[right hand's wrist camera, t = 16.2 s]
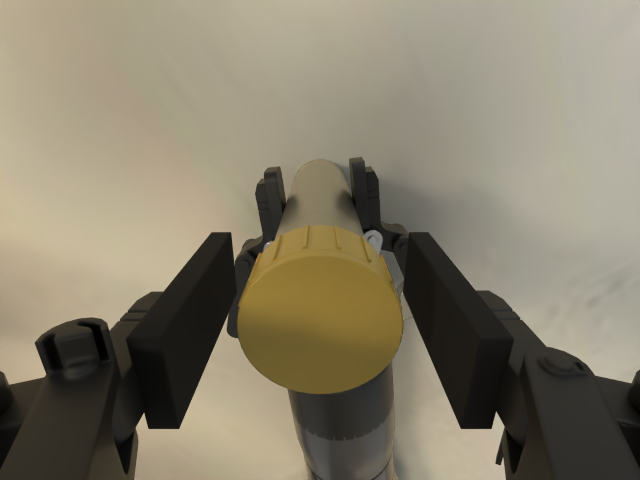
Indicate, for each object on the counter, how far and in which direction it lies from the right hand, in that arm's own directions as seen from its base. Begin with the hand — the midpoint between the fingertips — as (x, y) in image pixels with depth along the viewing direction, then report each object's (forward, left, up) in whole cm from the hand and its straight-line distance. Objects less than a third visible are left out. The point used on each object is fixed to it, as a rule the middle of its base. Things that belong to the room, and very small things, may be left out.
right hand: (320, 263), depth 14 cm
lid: (0, 0, +4) cm, 4 cm away
